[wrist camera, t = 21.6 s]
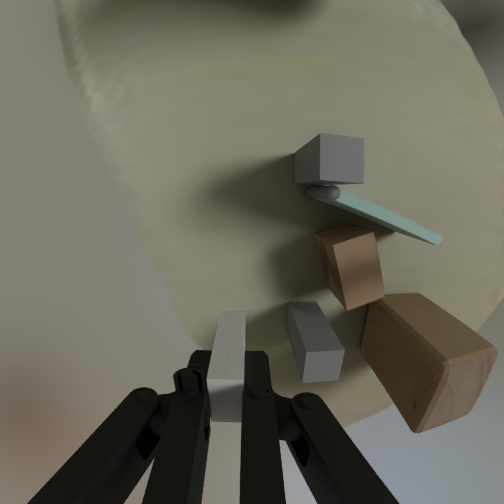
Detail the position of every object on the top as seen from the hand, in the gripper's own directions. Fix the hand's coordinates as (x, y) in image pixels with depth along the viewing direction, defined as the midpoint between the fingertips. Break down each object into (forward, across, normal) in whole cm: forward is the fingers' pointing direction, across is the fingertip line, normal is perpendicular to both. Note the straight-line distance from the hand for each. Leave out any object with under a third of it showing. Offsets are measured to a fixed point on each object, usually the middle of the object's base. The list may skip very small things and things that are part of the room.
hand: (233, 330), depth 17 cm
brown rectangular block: (+21, +13, 0) cm, 24 cm away
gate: (+20, +15, +6) cm, 26 cm away
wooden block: (+21, +24, -11) cm, 33 cm away
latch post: (+20, +8, -9) cm, 24 cm away
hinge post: (+21, +9, +11) cm, 25 cm away
